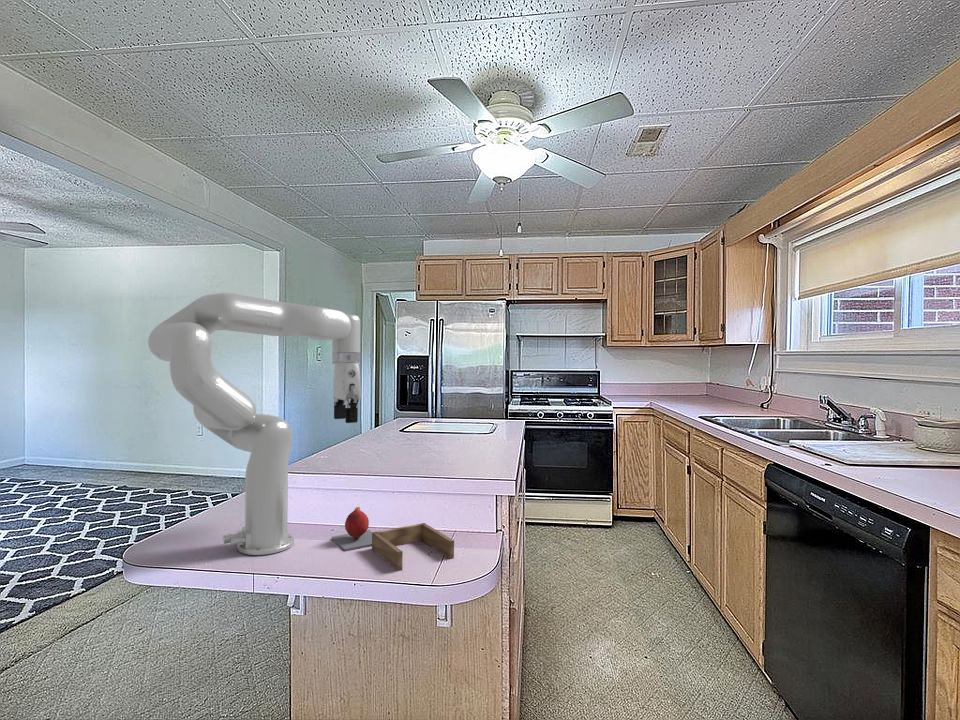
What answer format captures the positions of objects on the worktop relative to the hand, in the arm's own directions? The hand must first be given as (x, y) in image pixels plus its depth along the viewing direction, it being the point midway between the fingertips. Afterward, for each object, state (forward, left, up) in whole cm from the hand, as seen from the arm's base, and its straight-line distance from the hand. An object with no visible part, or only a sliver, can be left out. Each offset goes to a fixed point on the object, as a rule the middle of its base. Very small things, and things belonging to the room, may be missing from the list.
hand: (345, 420), depth 145 cm
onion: (-2, -16, -28) cm, 32 cm away
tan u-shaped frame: (+6, -31, -28) cm, 42 cm away
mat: (-2, -16, -28) cm, 33 cm away
